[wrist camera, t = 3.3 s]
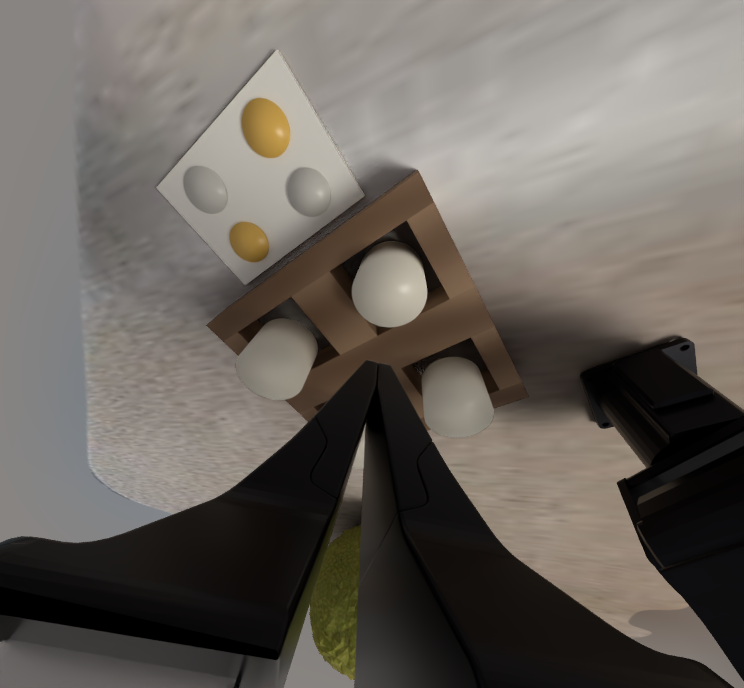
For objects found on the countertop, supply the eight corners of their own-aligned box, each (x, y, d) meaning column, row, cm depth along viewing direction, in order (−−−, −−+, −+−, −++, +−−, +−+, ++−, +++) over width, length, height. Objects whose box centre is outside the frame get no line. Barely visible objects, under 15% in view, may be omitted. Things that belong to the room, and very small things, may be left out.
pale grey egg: (490, 389, 19) (504, 425, 17) (437, 408, 21) (442, 444, 18) (466, 347, 18) (477, 380, 15) (411, 371, 19) (412, 405, 17)
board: (517, 374, 22) (529, 396, 20) (350, 435, 27) (346, 457, 25) (416, 169, 15) (418, 171, 13) (225, 309, 21) (206, 325, 19)
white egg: (435, 284, 18) (440, 306, 15) (381, 313, 19) (377, 338, 16) (403, 227, 16) (402, 240, 13) (347, 263, 17) (336, 282, 15)
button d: (329, 353, 19) (317, 385, 16) (287, 375, 20) (270, 407, 18) (290, 307, 17) (269, 334, 15) (247, 335, 19) (221, 364, 16)
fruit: (403, 563, 43) (339, 691, 33) (347, 489, 43) (265, 594, 32) (496, 586, 31) (445, 795, 21) (421, 485, 31) (330, 646, 21)
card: (365, 195, 16) (364, 196, 15) (247, 283, 19) (243, 286, 19) (279, 51, 13) (275, 47, 12) (159, 187, 17) (153, 188, 16)
